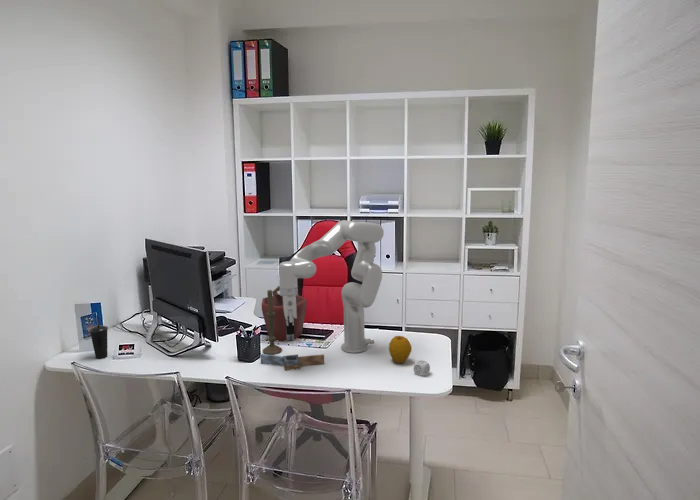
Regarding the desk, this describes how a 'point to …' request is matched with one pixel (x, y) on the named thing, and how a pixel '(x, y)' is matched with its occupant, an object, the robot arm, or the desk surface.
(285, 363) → the hammer
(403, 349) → the apple
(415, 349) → the desk surface
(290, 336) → the pin
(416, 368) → the die
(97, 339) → the drinking cup
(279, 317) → the bucket
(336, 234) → the robot arm
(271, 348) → the candlestick holder
